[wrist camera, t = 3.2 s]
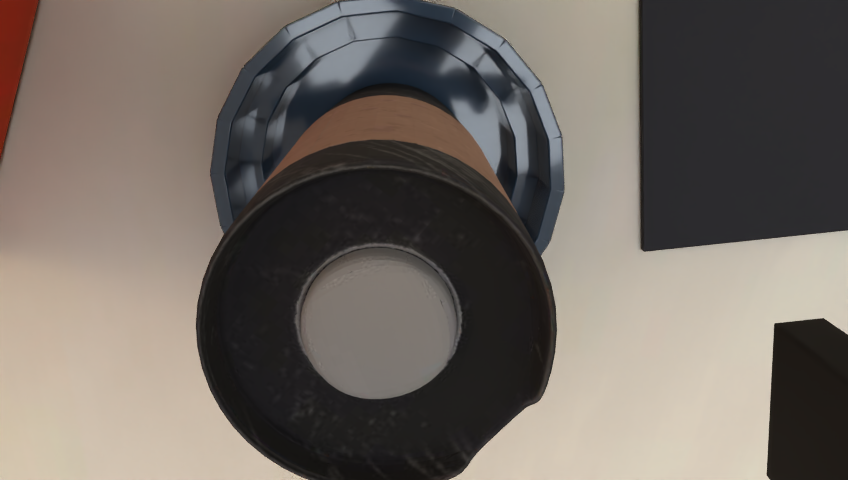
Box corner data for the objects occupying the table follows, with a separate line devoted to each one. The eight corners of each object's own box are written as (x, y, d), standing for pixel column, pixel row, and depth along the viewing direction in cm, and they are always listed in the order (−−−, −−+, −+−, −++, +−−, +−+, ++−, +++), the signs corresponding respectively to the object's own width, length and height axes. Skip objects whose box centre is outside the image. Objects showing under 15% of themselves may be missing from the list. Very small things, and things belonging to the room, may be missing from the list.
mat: (639, -1, 32) (641, -1, 32) (902, -29, 32) (908, -29, 32) (641, 249, 35) (643, 251, 35) (877, 224, 35) (882, 226, 35)
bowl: (216, 18, 32) (179, 17, 26) (530, -15, 32) (556, -23, 26) (268, 309, 36) (245, 358, 31) (545, 280, 36) (570, 324, 31)
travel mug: (303, 79, 32) (160, 163, 13) (470, 72, 32) (569, 146, 13) (317, 238, 34) (212, 508, 15) (472, 232, 35) (561, 490, 16)
